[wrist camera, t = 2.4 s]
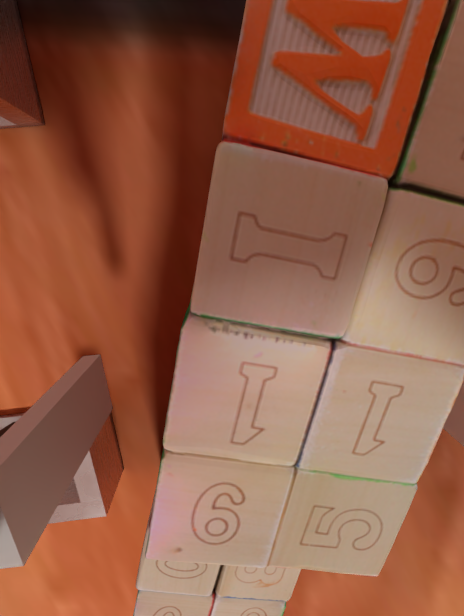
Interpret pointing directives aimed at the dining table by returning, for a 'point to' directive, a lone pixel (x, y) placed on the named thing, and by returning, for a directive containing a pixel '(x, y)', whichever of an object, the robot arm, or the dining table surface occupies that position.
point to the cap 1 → (16, 73)
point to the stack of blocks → (315, 307)
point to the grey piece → (89, 476)
